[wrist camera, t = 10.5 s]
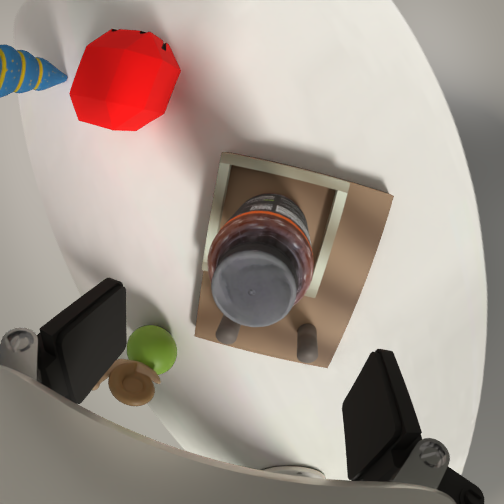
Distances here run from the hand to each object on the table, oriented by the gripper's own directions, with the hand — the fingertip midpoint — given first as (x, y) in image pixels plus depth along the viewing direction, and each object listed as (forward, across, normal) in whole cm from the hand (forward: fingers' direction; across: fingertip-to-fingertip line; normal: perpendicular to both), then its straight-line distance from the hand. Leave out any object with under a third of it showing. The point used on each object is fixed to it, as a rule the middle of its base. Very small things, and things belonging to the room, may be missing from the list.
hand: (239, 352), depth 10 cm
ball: (+16, +14, -11) cm, 24 cm away
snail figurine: (+17, +10, +14) cm, 24 cm away
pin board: (+16, -2, +3) cm, 17 cm away
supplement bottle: (+15, 0, -1) cm, 15 cm away
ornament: (+16, +25, -12) cm, 32 cm away
